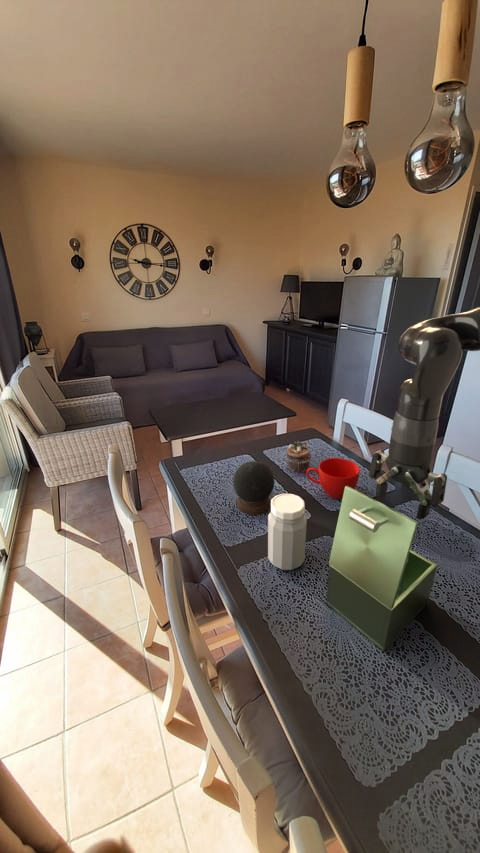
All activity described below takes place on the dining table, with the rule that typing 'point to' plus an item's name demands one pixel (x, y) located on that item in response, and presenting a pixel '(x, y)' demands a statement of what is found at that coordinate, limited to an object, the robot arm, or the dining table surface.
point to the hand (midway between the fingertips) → (400, 507)
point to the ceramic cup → (336, 476)
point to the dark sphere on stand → (253, 487)
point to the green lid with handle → (372, 545)
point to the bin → (372, 613)
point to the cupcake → (298, 457)
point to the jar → (287, 532)
